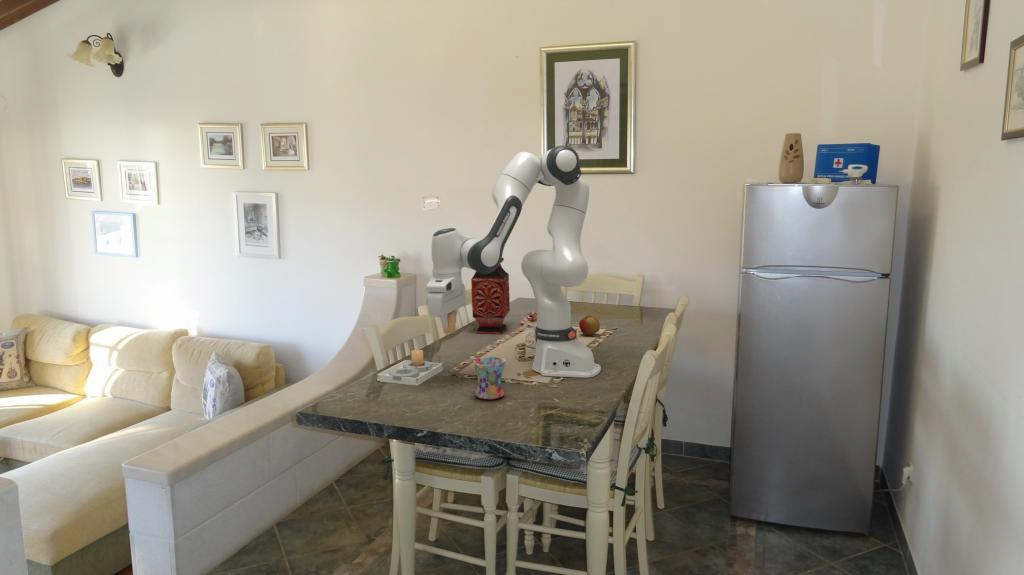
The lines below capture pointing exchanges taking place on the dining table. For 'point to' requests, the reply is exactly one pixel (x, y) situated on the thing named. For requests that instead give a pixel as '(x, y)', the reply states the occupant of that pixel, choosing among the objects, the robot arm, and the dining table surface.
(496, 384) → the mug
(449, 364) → the dining table surface
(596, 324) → the apple
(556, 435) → the dining table surface
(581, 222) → the robot arm
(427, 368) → the white candle tray
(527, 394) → the dining table surface
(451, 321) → the orange pillar candle
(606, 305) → the dining table surface
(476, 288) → the vase
